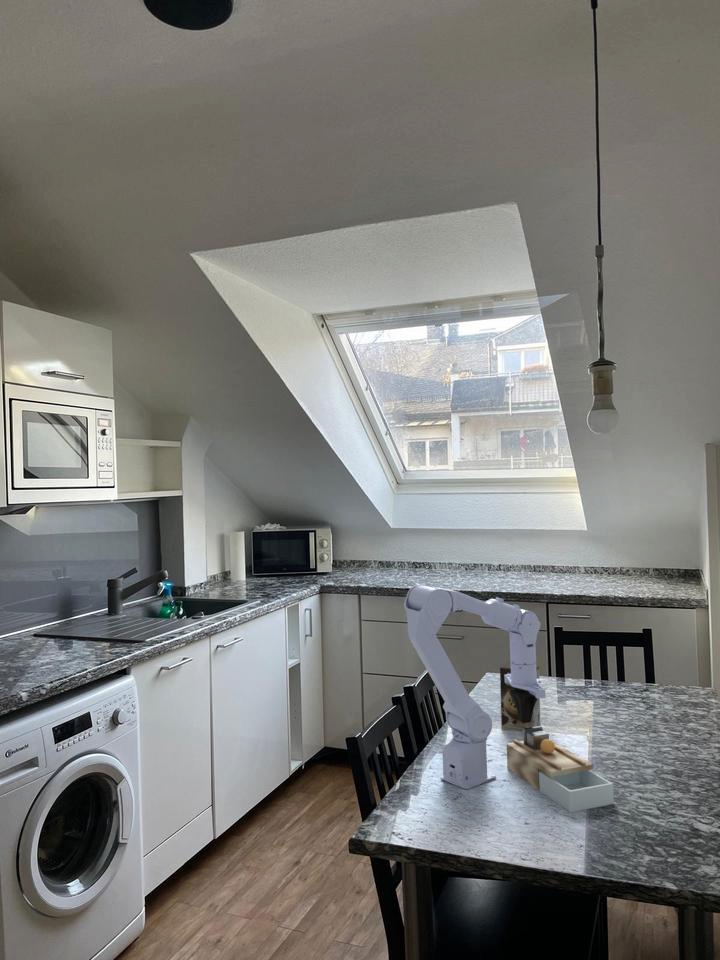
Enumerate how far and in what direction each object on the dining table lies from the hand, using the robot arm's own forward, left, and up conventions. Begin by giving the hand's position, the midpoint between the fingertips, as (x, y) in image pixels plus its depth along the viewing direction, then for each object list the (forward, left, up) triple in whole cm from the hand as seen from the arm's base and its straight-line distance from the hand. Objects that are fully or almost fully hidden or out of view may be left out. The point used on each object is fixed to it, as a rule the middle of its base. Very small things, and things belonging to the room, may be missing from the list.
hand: (525, 721), depth 169 cm
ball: (-3, -8, -3) cm, 9 cm away
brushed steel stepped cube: (-2, -4, -4) cm, 6 cm away
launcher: (-3, -7, -10) cm, 13 cm away
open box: (-7, -18, -10) cm, 21 cm away
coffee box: (+19, +18, -10) cm, 28 cm away
